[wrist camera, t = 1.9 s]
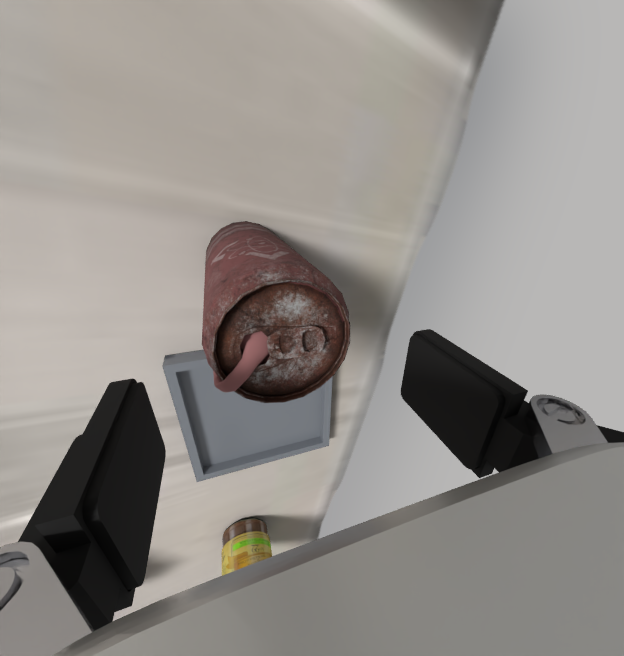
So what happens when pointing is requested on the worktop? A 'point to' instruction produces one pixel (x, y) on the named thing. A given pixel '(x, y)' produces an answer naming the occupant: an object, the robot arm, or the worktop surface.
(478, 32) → the worktop surface
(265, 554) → the sauce bottle
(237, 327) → the can
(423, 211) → the worktop surface
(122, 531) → the robot arm
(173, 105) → the worktop surface
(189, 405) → the tray
